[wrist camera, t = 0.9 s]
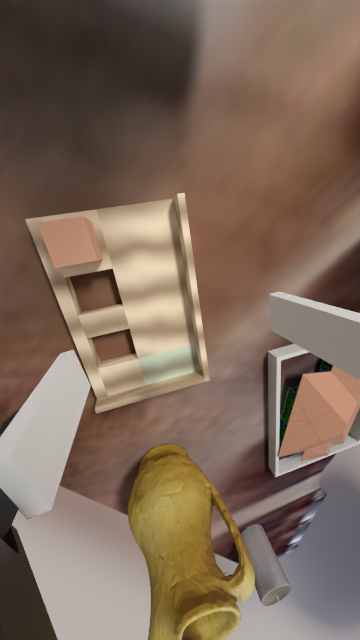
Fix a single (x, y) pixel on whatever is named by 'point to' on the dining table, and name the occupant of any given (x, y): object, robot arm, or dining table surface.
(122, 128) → the dining table surface
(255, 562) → the pillar candle
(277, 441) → the serving tray rim
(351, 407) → the house
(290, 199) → the dining table surface
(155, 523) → the pitcher
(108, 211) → the cube sorting tray
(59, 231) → the salmon block
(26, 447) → the robot arm
